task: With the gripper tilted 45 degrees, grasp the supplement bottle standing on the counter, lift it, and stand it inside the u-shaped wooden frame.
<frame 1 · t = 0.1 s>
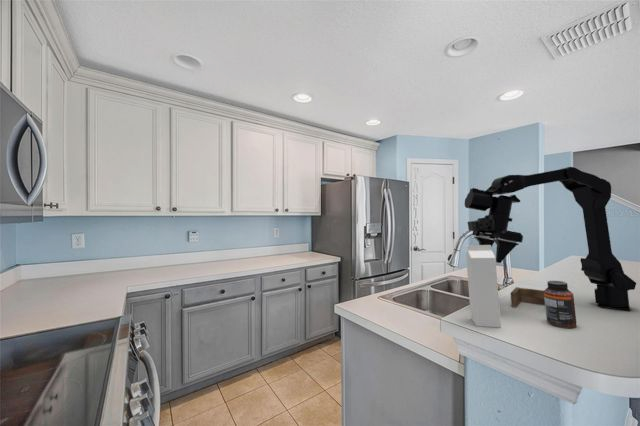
hand: (490, 260, 84), 15 cm above the worktop, tool pointing down, fingers open, 9 cm apart
u-shaped wooden frame: (533, 306, 83), on the worktop
supplement bottle: (561, 325, 69), on the worktop
milk: (485, 323, 73), on the worktop
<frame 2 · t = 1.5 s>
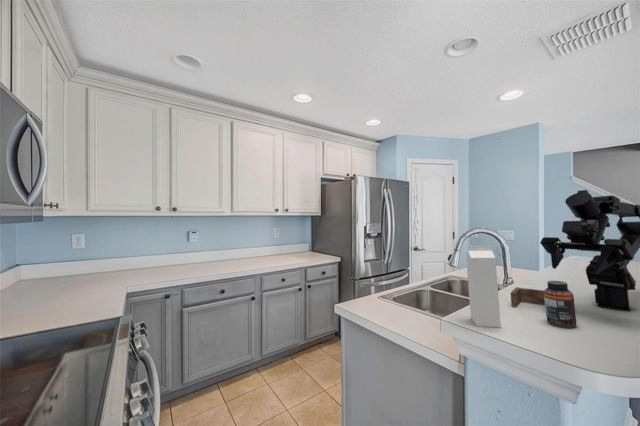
hand: (573, 270, 73), 13 cm above the worktop, tool tilted 45°, fingers open, 9 cm apart
nothing on the worktop moved.
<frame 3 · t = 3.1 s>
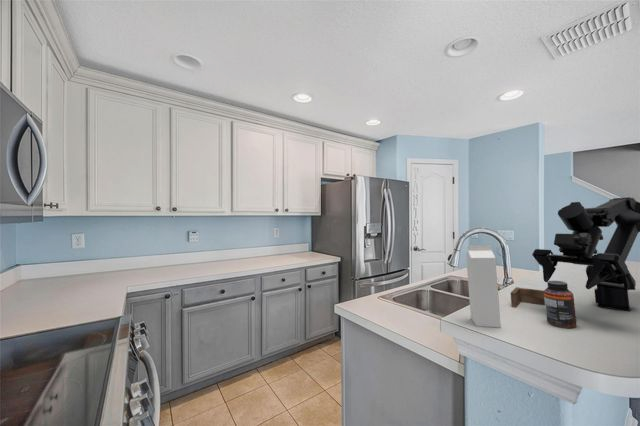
hand: (564, 284, 71), 10 cm above the worktop, tool tilted 45°, fingers open, 9 cm apart
nothing on the worktop moved.
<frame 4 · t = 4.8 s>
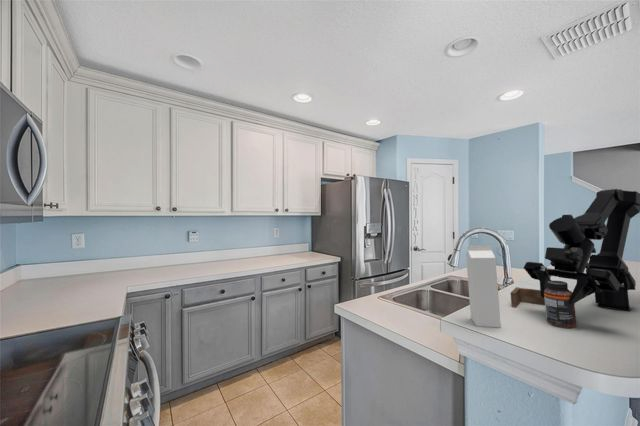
hand: (555, 300, 69), 7 cm above the worktop, tool tilted 45°, fingers closed on supplement bottle, 6 cm apart
supplement bottle: (561, 324, 69), on the worktop, touching gripper
everything else where it was.
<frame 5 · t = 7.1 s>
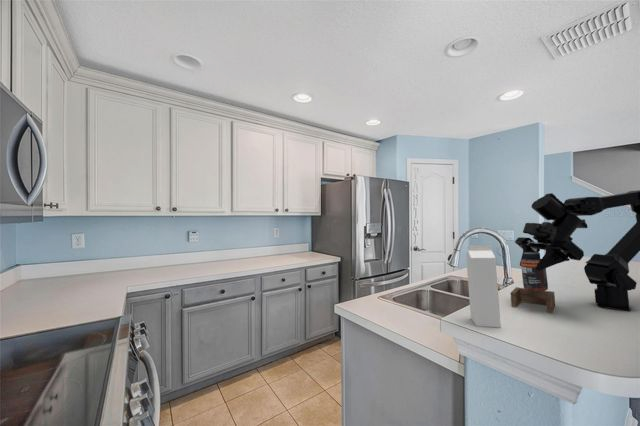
hand: (528, 267, 80), 13 cm above the worktop, tool tilted 45°, fingers closed on supplement bottle, 6 cm apart
supplement bottle: (535, 289, 79), point 6 cm above the worktop, touching gripper
everything else where it was.
when the fingers open (8 cm above the worktop, at t = 9.3 s): supplement bottle drops 1 cm, on the worktop.
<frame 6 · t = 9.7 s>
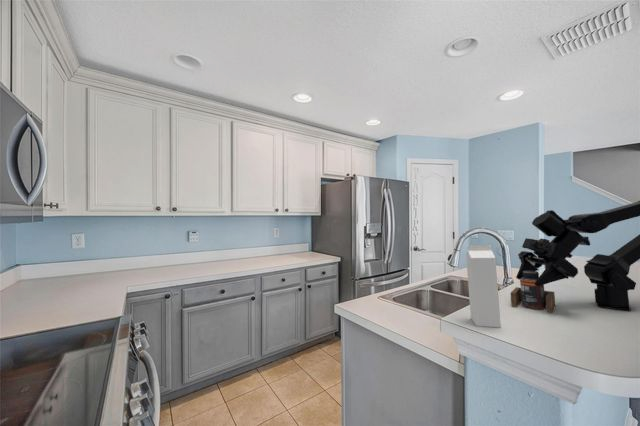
hand: (526, 281, 83), 8 cm above the worktop, tool tilted 45°, fingers open, 9 cm apart
supplement bottle: (533, 307, 83), on the worktop
everything else where it was.
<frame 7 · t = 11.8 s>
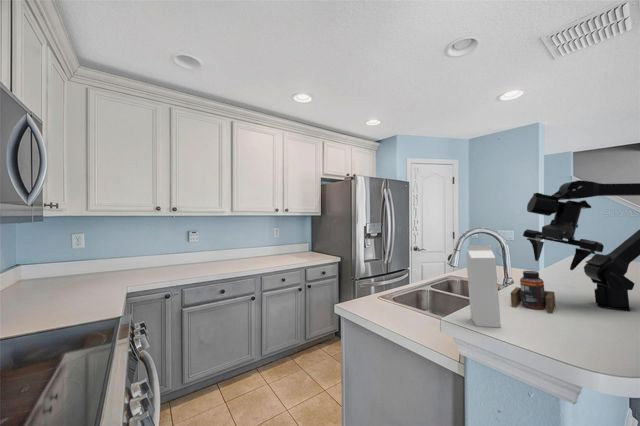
hand: (553, 265, 84), 13 cm above the worktop, tool tilted 15°, fingers open, 9 cm apart
nothing on the worktop moved.
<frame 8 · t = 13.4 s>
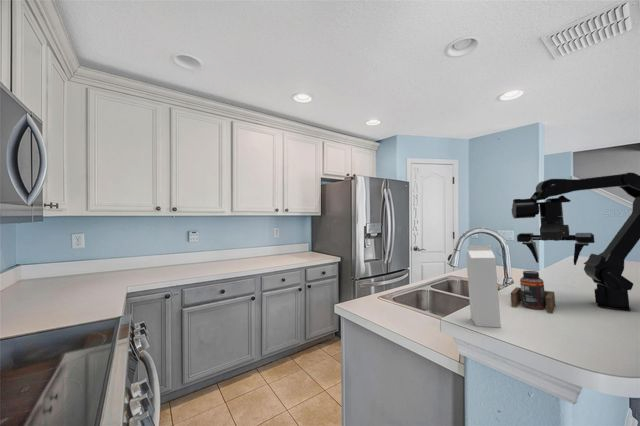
hand: (555, 263, 85), 13 cm above the worktop, tool pointing down, fingers open, 9 cm apart
nothing on the worktop moved.
at the end: supplement bottle 1.1 cm from the target spot on the u-shaped wooden frame, point 0.0 cm above the u-shaped wooden frame's base; supplement bottle tilted 0°; the gripper is holding nothing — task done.
